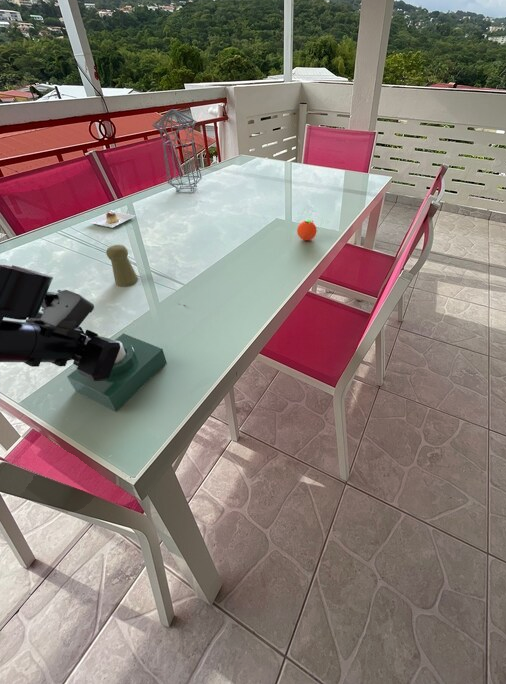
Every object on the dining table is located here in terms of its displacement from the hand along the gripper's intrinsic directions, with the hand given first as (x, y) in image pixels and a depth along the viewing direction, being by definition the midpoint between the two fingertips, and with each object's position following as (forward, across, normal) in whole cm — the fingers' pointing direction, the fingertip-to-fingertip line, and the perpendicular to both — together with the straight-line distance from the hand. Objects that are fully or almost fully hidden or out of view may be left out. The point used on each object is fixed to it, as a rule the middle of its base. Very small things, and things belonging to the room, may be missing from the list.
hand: (110, 346), depth 62 cm
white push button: (+2, 0, +2) cm, 3 cm away
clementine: (+58, -9, -46) cm, 74 cm away
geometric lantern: (+74, +64, -62) cm, 116 cm away
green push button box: (+6, 0, +6) cm, 8 cm away
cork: (+24, +27, -12) cm, 38 cm away
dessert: (+44, +65, -32) cm, 85 cm away
